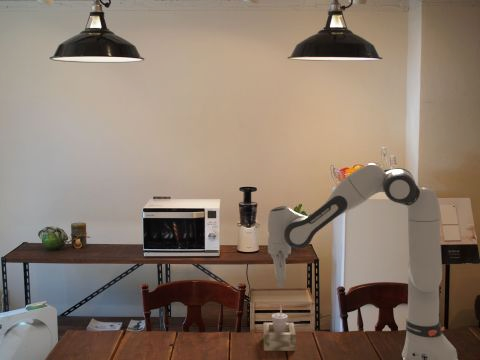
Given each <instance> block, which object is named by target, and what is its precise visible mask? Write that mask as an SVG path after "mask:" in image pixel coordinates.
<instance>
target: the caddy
mask: <svg viewBox="0 0 480 360" xmlns="http://www.w3.org/2000/svg"><path fill="white" fill-rule="evenodd" d="M262 327H263V335H262V336H263V351H265V352H267V351H270V352H271V351H277V352H278V351H284V352H285V351H286V352H287V351H294V352H295V351H296V330H295V324H294V322H287V323H286V330H285V332H274V328H273V322H263V325H262Z"/></svg>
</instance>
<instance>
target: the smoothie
mask: <svg viewBox="0 0 480 360" xmlns="http://www.w3.org/2000/svg"><path fill="white" fill-rule="evenodd" d="M282 306H283V305H281V304H280V306H279V308H280V312H276V313H273V314H271V319H272V323H273V328H274V332H285V330H286V323H288V322H287V321H288V317H289V316H288V314H286V313H283V311H282V310H283V307H282Z"/></svg>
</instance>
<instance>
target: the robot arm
mask: <svg viewBox="0 0 480 360" xmlns="http://www.w3.org/2000/svg"><path fill="white" fill-rule="evenodd" d="M379 193H384V194H385V196H386V197H387V198H388V199H389V200H390V201H392V202H393V203H395V204H396V203H397V204H400V205H403V206H406V207H407V226H408V227H407V229H408V230H407V231H408V233H407V235H408V236H407V237H408V250H409V251H408V255H409V256H408V258H409V259H408V270H407V271H408V274H407V276H408V277H407V279H408V281H407V282H408V283H407V286H408V287H407V290H408V291H407V292H408V293H407V318H405V319H406V320H405V330H406V336H405V340H404V341H405V342H404V346H403V350H402V352H401V357H402V360H458V352H457V349H456V348H455V347H454V345H453V344H452V343H451V341H449V340H448V339H447V337H446V336H445V335H444V333H443V331H445V329H446V328H445V326H443V327H442V325H441V323H440V321H439V320H440V319H439V317H440V316H439V315H440V285H441V283H442V279H443V263H442V245H441V217H440V216H441V215H440V214H441V212H440V211H441V210H440V204H439V199H438V195H437V193H436V191H434V189H431V188H429V187H420V186H419V185H417V183H416V180H415V178H414V176H413V175H412V173H411V172H410V171H409V170H407V169H406V168H401V167H398V168H390V169H384V170H383V169H382V167H381V166H380V165H377V163H367V164H365V165H364V166H362V167H360V168H358V169H356V170H355V171H353V172H352V173H350V174H349V175H347V176H346V177H345V178H343V180H341V182H340V183H338V185H337V186H336V187H335V188H334V189H333V191H332V192H331V194H330V195H329V197H328V199H327V200H326V201H325V203H324V204H322V205H321V206H320V207H319V208H318V209H316V210H315V211H313V212H312V213H310V214H309V216H308V215H304V214H302V213H299V212H297V211H295V210H293V209H292V208H290V206H284V205H282V206H277V207H274V208H272V209H271V210H270V211H269V214H268V219H267V232H268V237H267V253H268V254H269V255H270V256H271V258H272V259H273V260H272V261H273V267H274V273H275V278H276V280H277V288H279V289H280V288H283V287H284V286H283V285H284V280H285V279H286V277H287V276H286V275H287V274H286V273H287V272H286V266H287V265H286V263H287V262H286V259H288V257H289V256H288V255H291V254H292V248H293V249H296V250H303V249H305V248H307V247H308V246H309V245H310V243H311V241H312V240H313V238H314V236H315V235H316V234H317V233H318V232H319V231H320V230H322V229H323V228H324V227H326V226H327V225H328V224H329V223H331V222H332V221H334V220H335V219H336V218H338V217H339V216H342V215H344V213H347V212H348V211H351V210H353V209H354V208H357V207H358V206H360V205H362V204H363V203H364V202H366V201H367V200H369V199H370V198H372V197H373V196H374V195H376V194H379Z"/></svg>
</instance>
